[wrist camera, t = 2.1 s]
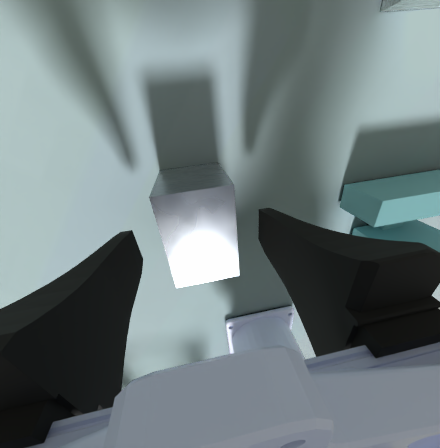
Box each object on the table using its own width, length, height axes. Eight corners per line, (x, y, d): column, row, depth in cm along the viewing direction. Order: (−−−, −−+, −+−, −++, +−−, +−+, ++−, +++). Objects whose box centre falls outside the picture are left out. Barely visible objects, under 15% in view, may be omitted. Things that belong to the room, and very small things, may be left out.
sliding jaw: (423, 227, 20) (490, 259, 15) (330, 244, 19) (374, 283, 15) (453, 167, 17) (546, 185, 12) (344, 184, 16) (405, 211, 12)
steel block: (224, 233, 17) (239, 275, 12) (177, 242, 16) (176, 288, 12) (217, 162, 14) (233, 184, 9) (159, 170, 13) (149, 197, 9)
